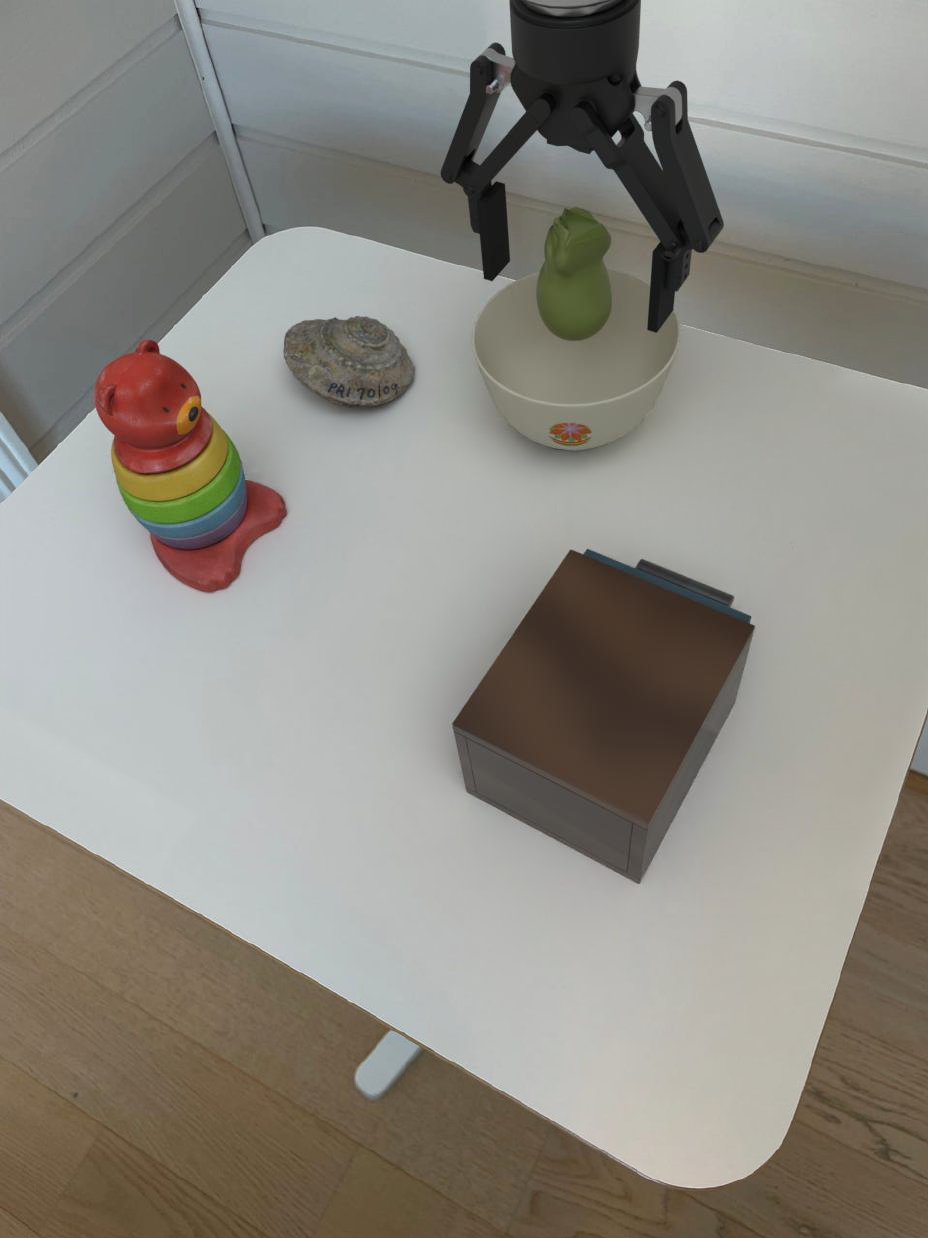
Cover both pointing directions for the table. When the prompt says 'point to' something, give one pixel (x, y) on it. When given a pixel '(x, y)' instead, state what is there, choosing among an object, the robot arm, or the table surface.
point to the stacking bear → (181, 470)
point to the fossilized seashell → (348, 360)
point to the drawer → (676, 584)
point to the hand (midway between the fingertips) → (576, 294)
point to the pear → (575, 276)
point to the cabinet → (602, 711)
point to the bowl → (573, 365)
